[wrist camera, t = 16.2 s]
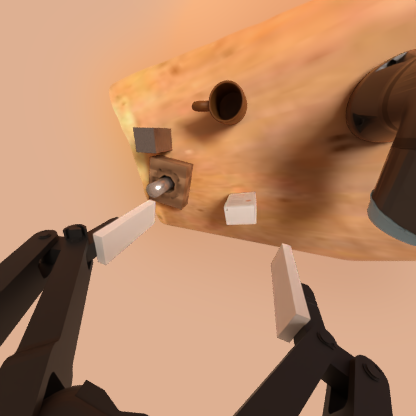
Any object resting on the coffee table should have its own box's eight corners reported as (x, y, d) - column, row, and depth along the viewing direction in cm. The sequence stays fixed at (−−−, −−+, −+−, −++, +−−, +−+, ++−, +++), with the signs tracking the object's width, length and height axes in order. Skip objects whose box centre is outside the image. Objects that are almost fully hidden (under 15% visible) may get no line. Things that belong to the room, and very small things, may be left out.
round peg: (168, 172, 54) (146, 182, 43) (179, 175, 53) (159, 185, 43) (167, 184, 56) (146, 195, 45) (178, 187, 55) (158, 199, 45)
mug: (202, 126, 45) (189, 125, 37) (201, 93, 42) (186, 84, 34) (246, 124, 42) (243, 122, 34) (248, 88, 39) (245, 76, 30)
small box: (231, 209, 53) (225, 225, 44) (229, 193, 51) (222, 206, 42) (257, 208, 50) (256, 224, 41) (255, 191, 48) (254, 204, 39)
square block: (153, 128, 49) (132, 127, 41) (170, 128, 48) (153, 127, 40) (155, 149, 52) (136, 152, 44) (172, 150, 50) (156, 153, 43)
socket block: (159, 154, 52) (149, 157, 48) (193, 164, 50) (187, 167, 46) (157, 194, 59) (148, 198, 54) (187, 203, 57) (181, 209, 52)
